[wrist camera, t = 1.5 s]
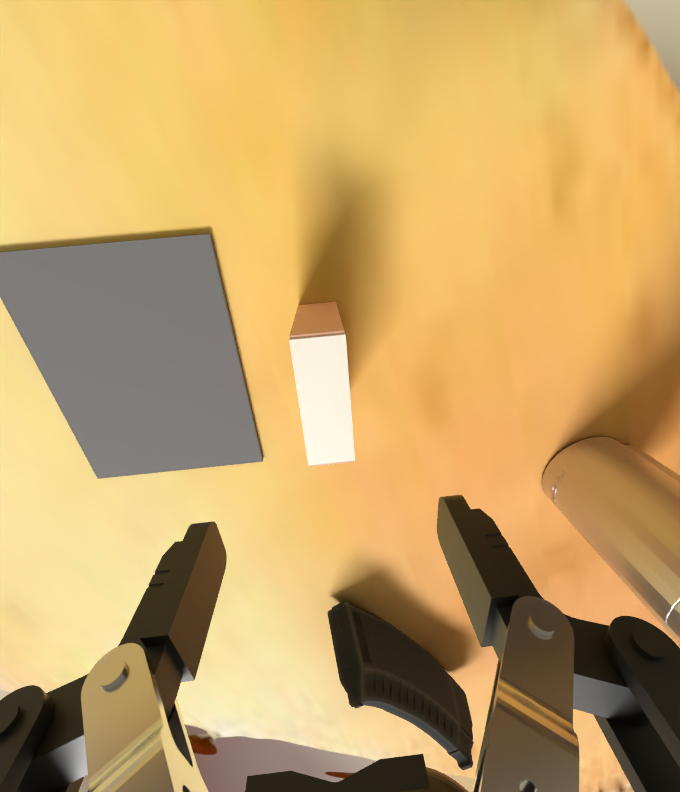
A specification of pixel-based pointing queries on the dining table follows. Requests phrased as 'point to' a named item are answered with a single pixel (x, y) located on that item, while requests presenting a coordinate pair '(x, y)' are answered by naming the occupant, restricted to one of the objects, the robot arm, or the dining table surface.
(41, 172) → the dining table surface
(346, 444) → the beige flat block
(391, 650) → the magazine
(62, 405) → the mat
